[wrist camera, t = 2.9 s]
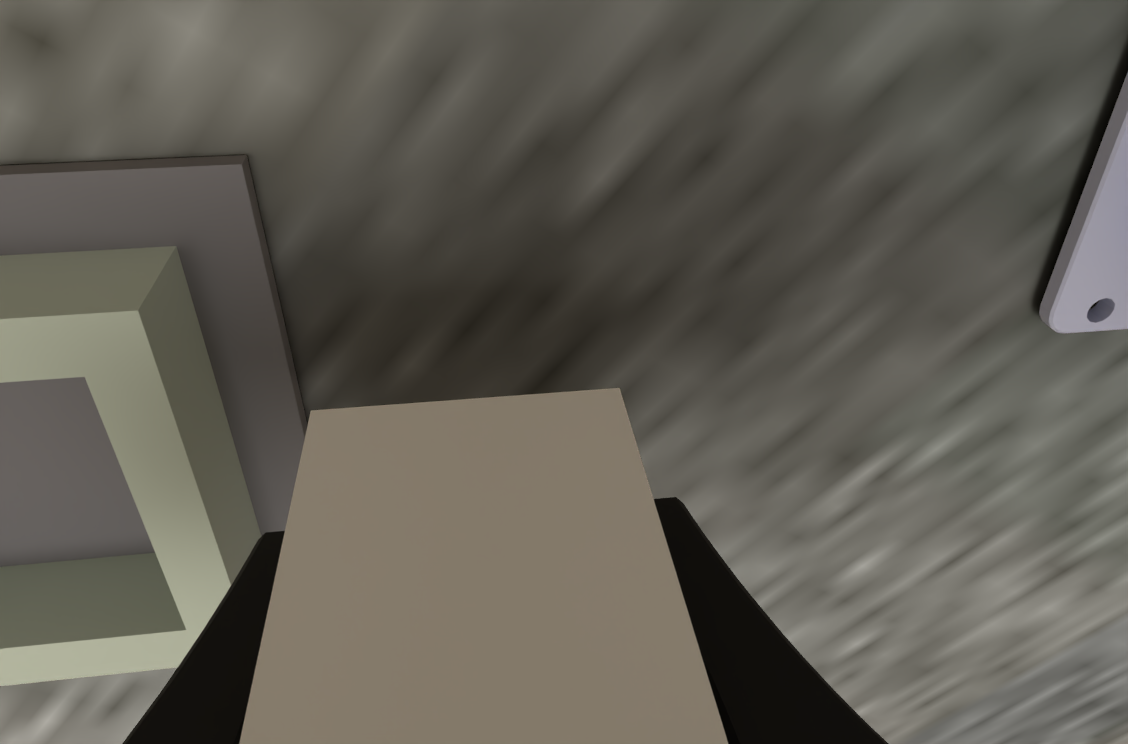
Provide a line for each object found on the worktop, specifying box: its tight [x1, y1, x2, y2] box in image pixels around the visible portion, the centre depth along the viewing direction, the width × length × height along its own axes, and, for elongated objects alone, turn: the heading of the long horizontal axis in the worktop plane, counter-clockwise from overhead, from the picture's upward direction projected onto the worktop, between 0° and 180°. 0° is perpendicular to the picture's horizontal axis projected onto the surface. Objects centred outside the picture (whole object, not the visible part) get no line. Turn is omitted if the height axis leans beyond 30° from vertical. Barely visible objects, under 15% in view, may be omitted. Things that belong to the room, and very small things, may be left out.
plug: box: [239, 388, 728, 744], centre depth 10 cm, size 4×4×6 cm
